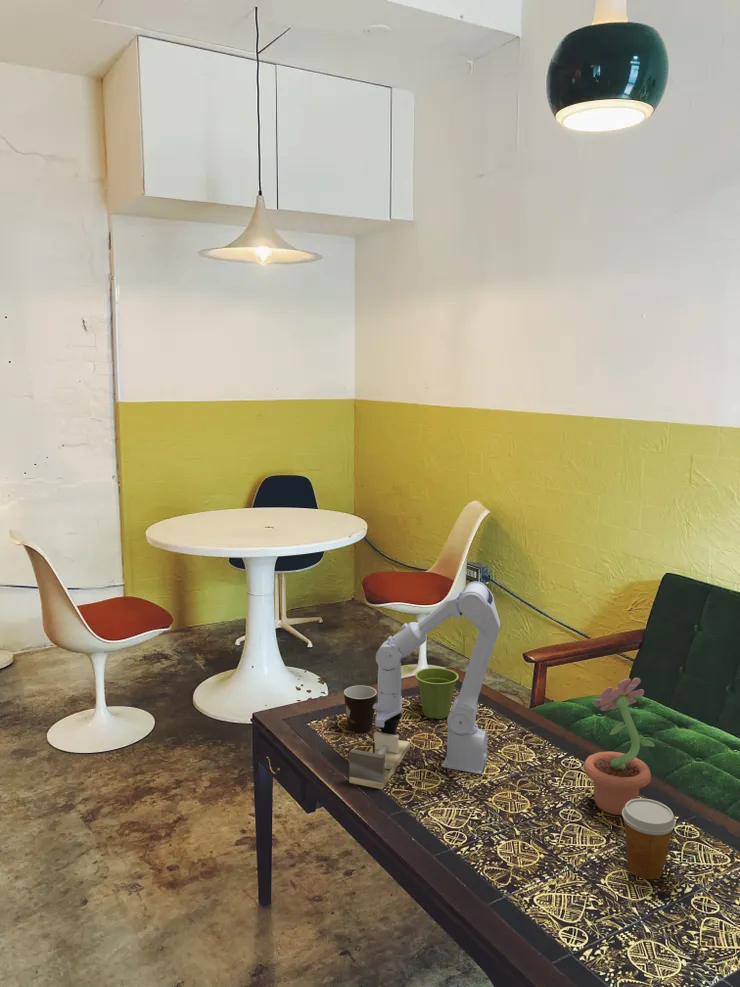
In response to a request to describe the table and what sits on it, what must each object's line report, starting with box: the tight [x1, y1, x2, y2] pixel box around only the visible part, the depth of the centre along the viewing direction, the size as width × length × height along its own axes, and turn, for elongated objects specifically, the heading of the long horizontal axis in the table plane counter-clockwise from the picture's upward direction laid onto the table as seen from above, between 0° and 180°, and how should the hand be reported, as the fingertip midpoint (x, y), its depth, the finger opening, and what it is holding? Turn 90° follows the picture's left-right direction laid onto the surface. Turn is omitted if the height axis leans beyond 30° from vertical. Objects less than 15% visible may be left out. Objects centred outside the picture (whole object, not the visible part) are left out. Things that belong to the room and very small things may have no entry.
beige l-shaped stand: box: [348, 739, 411, 790], centre depth 184 cm, size 21×8×8 cm, turn 160°
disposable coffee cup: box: [621, 797, 677, 880], centre depth 146 cm, size 10×10×12 cm
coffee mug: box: [343, 685, 378, 734], centre depth 205 cm, size 12×9×10 cm
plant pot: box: [414, 667, 460, 720], centre depth 212 cm, size 12×12×11 cm
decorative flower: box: [583, 677, 656, 816], centre depth 166 cm, size 15×14×30 cm
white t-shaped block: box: [373, 731, 400, 755], centre depth 184 cm, size 8×6×4 cm
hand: (388, 742), depth 190 cm, fingers closed
